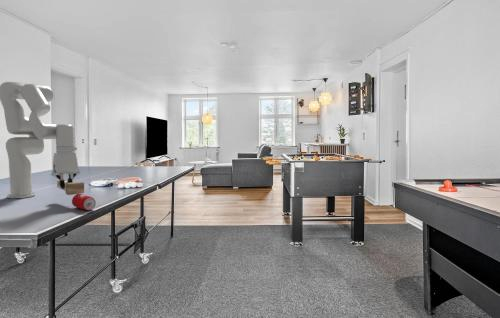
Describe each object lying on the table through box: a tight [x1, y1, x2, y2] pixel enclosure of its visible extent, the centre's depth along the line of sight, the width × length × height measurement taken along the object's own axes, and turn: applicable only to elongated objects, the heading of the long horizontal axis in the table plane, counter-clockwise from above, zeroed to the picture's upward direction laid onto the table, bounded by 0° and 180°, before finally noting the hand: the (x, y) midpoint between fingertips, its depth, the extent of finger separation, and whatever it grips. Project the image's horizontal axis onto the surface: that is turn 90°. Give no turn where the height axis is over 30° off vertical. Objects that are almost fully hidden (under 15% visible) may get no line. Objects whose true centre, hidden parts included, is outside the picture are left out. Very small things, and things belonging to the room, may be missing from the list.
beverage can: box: [71, 193, 97, 211], centre depth 150 cm, size 6×6×12 cm
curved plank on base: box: [56, 179, 85, 196], centre depth 161 cm, size 20×7×5 cm, turn 49°
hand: (66, 187), depth 162 cm, fingers closed on curved plank on base, 2 cm apart
